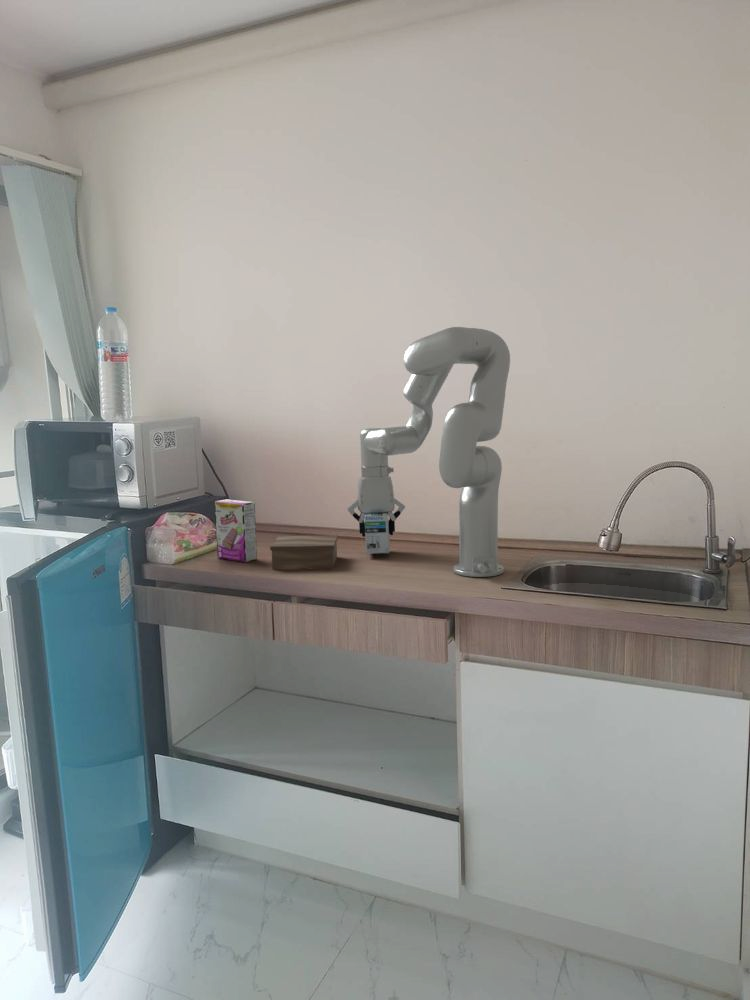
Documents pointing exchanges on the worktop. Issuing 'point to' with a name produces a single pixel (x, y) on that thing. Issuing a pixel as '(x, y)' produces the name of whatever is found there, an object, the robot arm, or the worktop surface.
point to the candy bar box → (236, 530)
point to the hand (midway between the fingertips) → (377, 534)
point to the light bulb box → (377, 533)
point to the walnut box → (304, 552)
